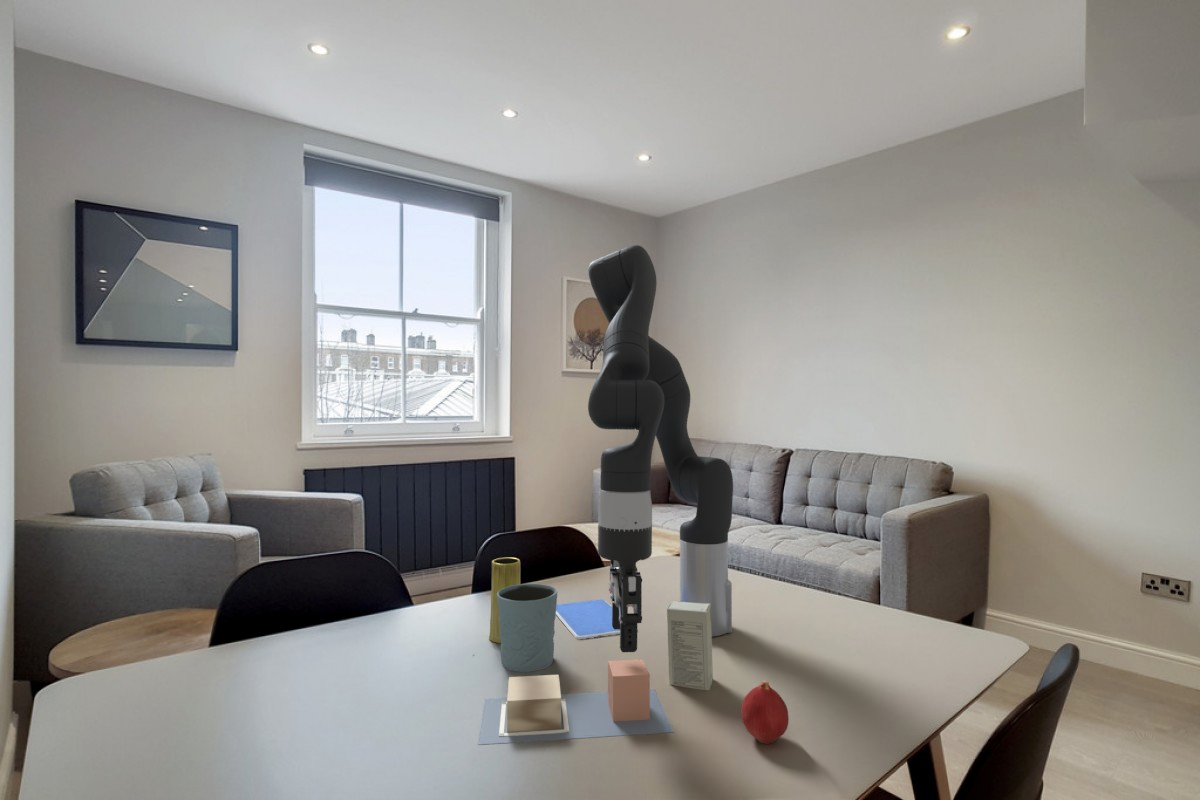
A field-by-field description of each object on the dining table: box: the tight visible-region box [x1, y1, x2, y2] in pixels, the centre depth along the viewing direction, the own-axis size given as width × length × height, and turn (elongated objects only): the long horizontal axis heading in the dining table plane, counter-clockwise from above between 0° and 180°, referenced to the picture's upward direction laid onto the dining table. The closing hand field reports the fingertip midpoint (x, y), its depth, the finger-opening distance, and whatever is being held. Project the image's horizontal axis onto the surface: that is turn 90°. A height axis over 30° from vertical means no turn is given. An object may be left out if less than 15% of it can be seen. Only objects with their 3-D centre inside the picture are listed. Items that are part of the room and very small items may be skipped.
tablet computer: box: [556, 598, 639, 640], centre depth 121 cm, size 19×13×1 cm, turn 20°
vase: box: [488, 556, 521, 644], centre depth 112 cm, size 6×6×14 cm
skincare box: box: [666, 600, 714, 691], centre depth 92 cm, size 6×4×12 cm
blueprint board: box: [477, 688, 675, 746], centre depth 82 cm, size 25×12×1 cm, turn 97°
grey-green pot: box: [497, 583, 558, 673], centre depth 100 cm, size 10×10×12 cm
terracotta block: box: [607, 658, 651, 722], centre depth 83 cm, size 5×5×6 cm
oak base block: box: [506, 674, 562, 732], centre depth 81 cm, size 7×7×4 cm
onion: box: [740, 680, 790, 745], centre depth 76 cm, size 6×6×8 cm
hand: (623, 639), depth 83 cm, fingers open, 8 cm apart
